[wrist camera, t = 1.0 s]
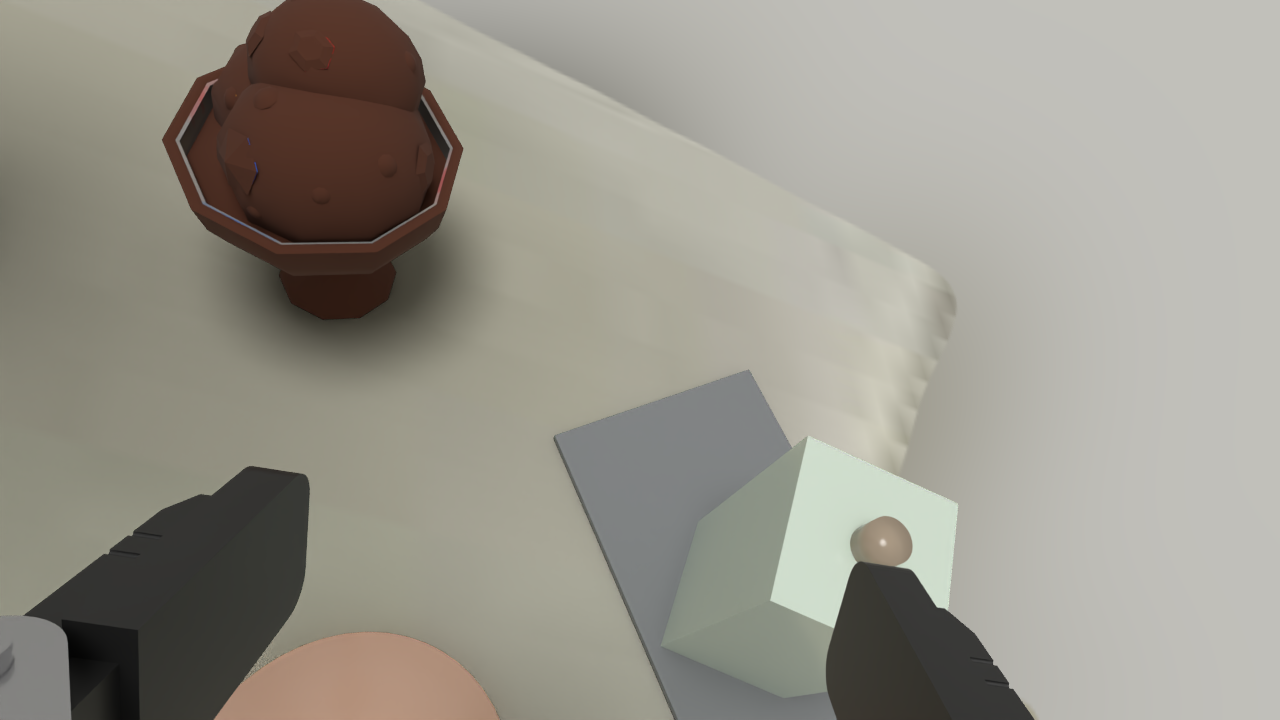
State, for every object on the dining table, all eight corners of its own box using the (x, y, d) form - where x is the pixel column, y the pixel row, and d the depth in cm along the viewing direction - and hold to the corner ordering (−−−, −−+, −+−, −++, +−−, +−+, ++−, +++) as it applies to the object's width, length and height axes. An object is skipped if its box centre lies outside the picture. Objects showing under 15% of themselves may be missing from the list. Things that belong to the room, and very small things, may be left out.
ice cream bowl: (217, 190, 38) (124, -95, 25) (440, 192, 42) (457, -54, 29) (212, 375, 33) (98, 143, 21) (462, 358, 37) (493, 153, 25)
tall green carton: (660, 646, 33) (786, 593, 22) (698, 521, 36) (824, 422, 25) (783, 698, 34) (966, 671, 23) (809, 570, 37) (980, 494, 26)
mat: (553, 438, 37) (554, 435, 36) (746, 372, 42) (748, 369, 41) (716, 815, 31) (719, 816, 31) (916, 685, 36) (921, 685, 36)
